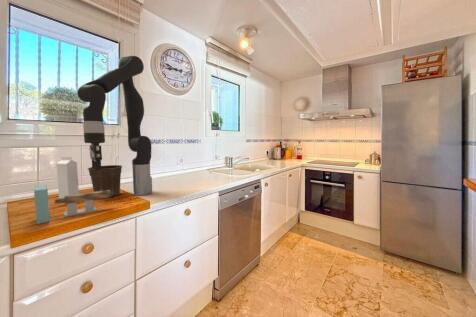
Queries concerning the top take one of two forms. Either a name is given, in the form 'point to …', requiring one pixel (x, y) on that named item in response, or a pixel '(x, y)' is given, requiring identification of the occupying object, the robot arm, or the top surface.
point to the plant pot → (106, 179)
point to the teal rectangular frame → (42, 204)
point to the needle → (83, 197)
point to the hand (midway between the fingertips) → (96, 168)
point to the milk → (67, 177)
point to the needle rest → (88, 208)
